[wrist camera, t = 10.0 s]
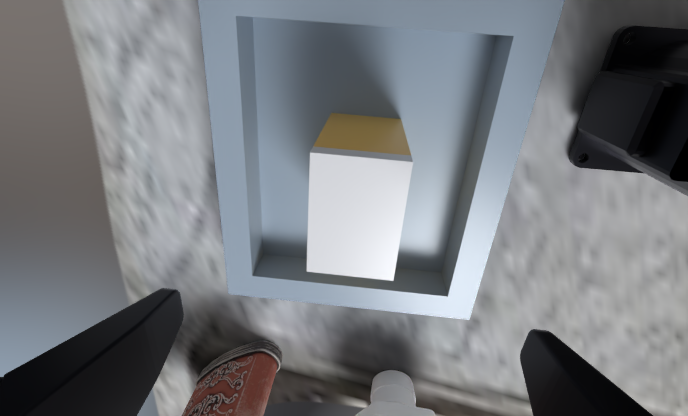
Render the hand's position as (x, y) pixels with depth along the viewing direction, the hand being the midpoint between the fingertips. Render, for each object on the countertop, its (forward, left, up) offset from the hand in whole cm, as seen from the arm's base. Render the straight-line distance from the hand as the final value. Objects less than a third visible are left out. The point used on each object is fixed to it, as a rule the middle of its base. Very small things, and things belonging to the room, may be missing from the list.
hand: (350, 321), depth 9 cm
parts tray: (0, 0, -12) cm, 12 cm away
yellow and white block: (0, 0, -11) cm, 11 cm away
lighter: (+8, +18, -12) cm, 23 cm away
